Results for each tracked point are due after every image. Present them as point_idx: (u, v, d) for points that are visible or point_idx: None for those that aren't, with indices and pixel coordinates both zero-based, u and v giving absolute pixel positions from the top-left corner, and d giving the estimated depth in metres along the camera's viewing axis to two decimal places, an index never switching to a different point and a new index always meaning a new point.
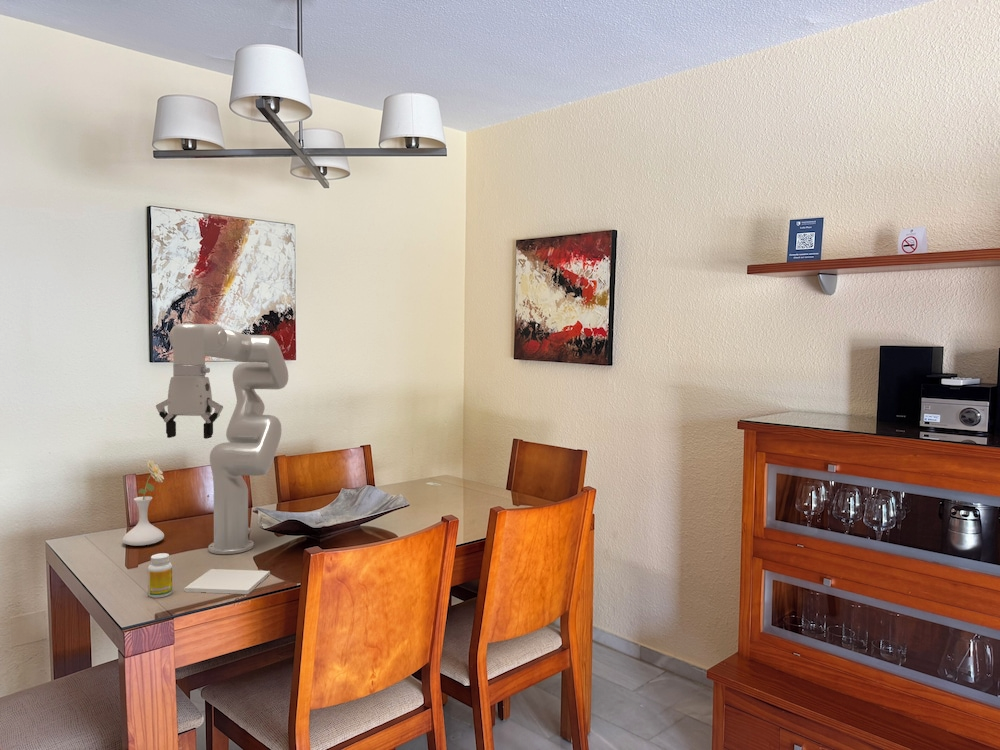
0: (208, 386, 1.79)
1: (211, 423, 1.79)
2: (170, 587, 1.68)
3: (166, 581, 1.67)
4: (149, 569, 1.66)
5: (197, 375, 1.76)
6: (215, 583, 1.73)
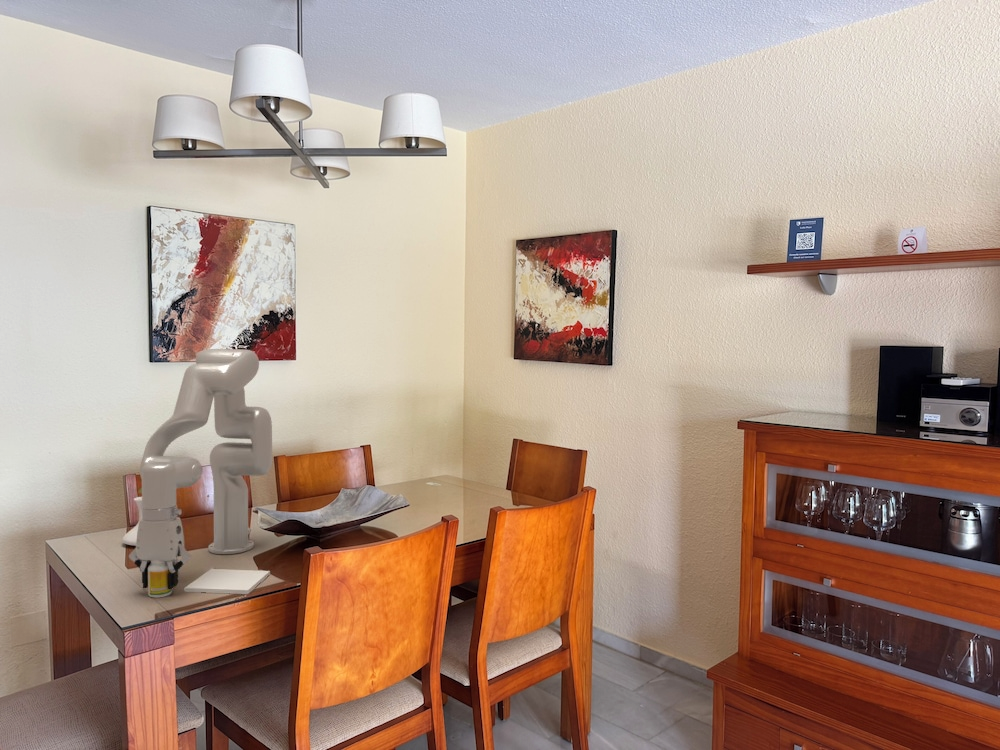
0: (180, 528, 1.68)
1: (176, 572, 1.68)
2: None
3: (167, 581, 1.67)
4: (149, 569, 1.66)
5: (167, 519, 1.65)
6: (215, 583, 1.73)
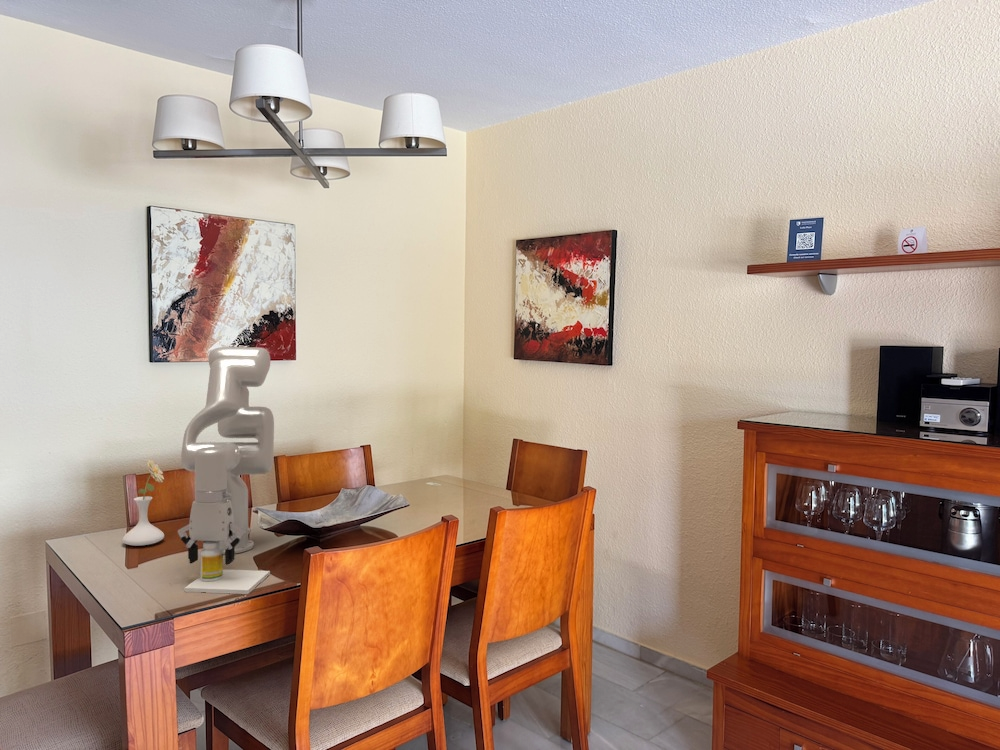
0: (230, 510, 1.77)
1: (233, 548, 1.76)
2: (221, 571, 1.77)
3: (218, 566, 1.75)
4: (202, 554, 1.74)
5: (219, 501, 1.74)
6: (215, 583, 1.73)
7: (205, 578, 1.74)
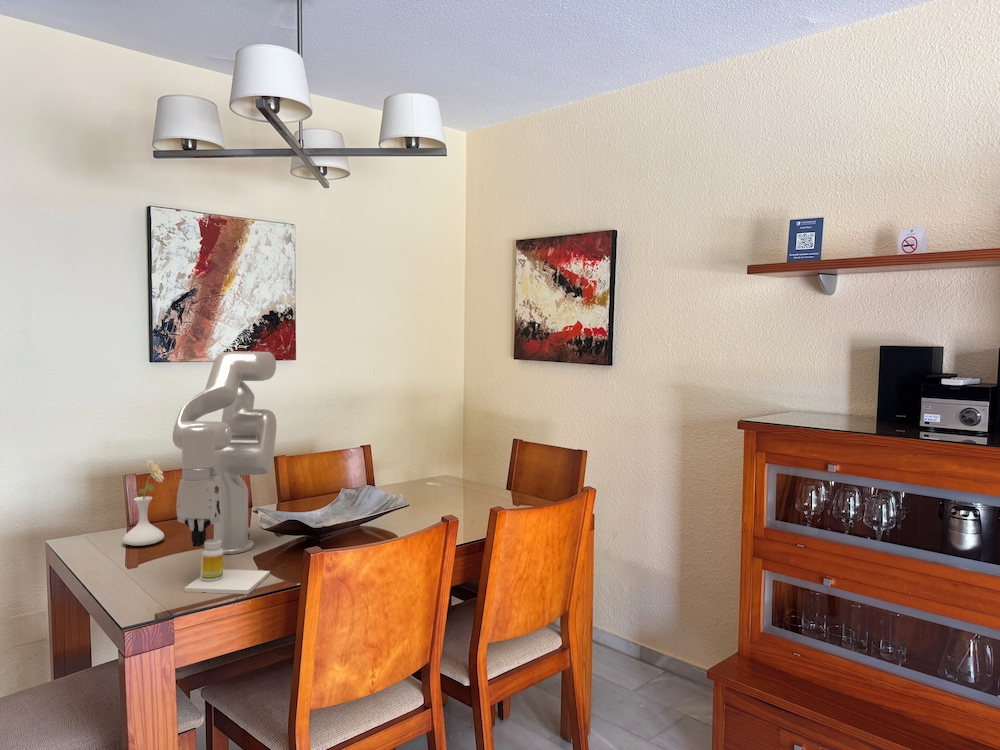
0: (217, 488, 1.76)
1: (204, 530, 1.76)
2: (221, 571, 1.77)
3: (218, 566, 1.75)
4: (202, 554, 1.74)
5: (206, 479, 1.73)
6: (215, 583, 1.73)
7: (205, 578, 1.74)
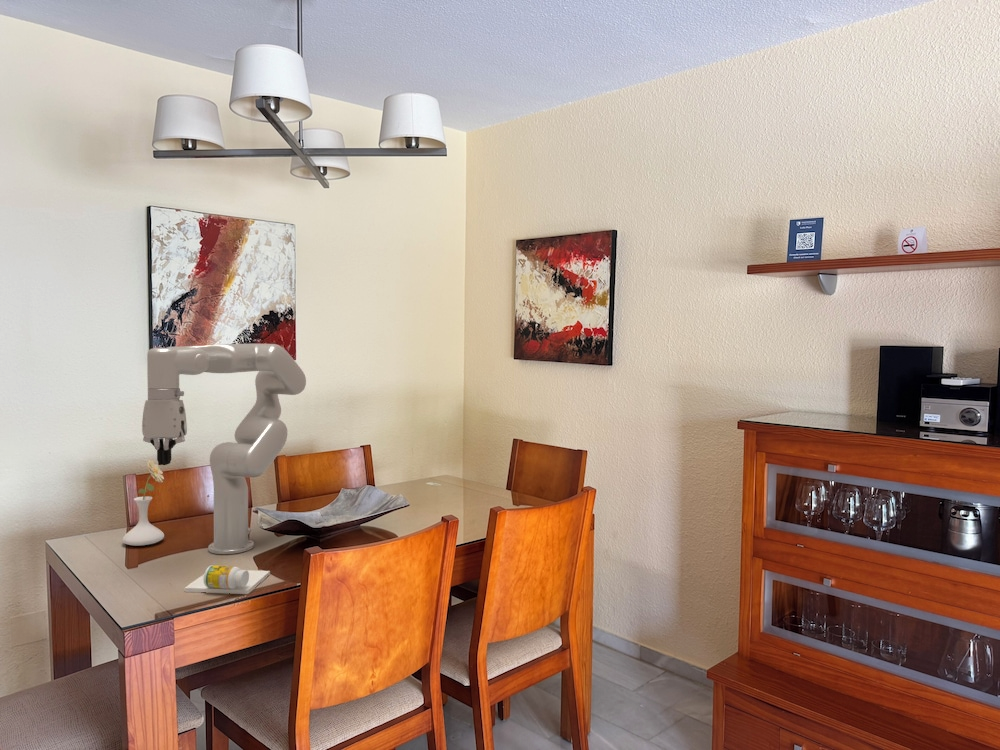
0: (182, 409, 1.82)
1: (169, 450, 1.82)
2: None
3: None
4: None
5: (171, 399, 1.79)
6: None
7: None
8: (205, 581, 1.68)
